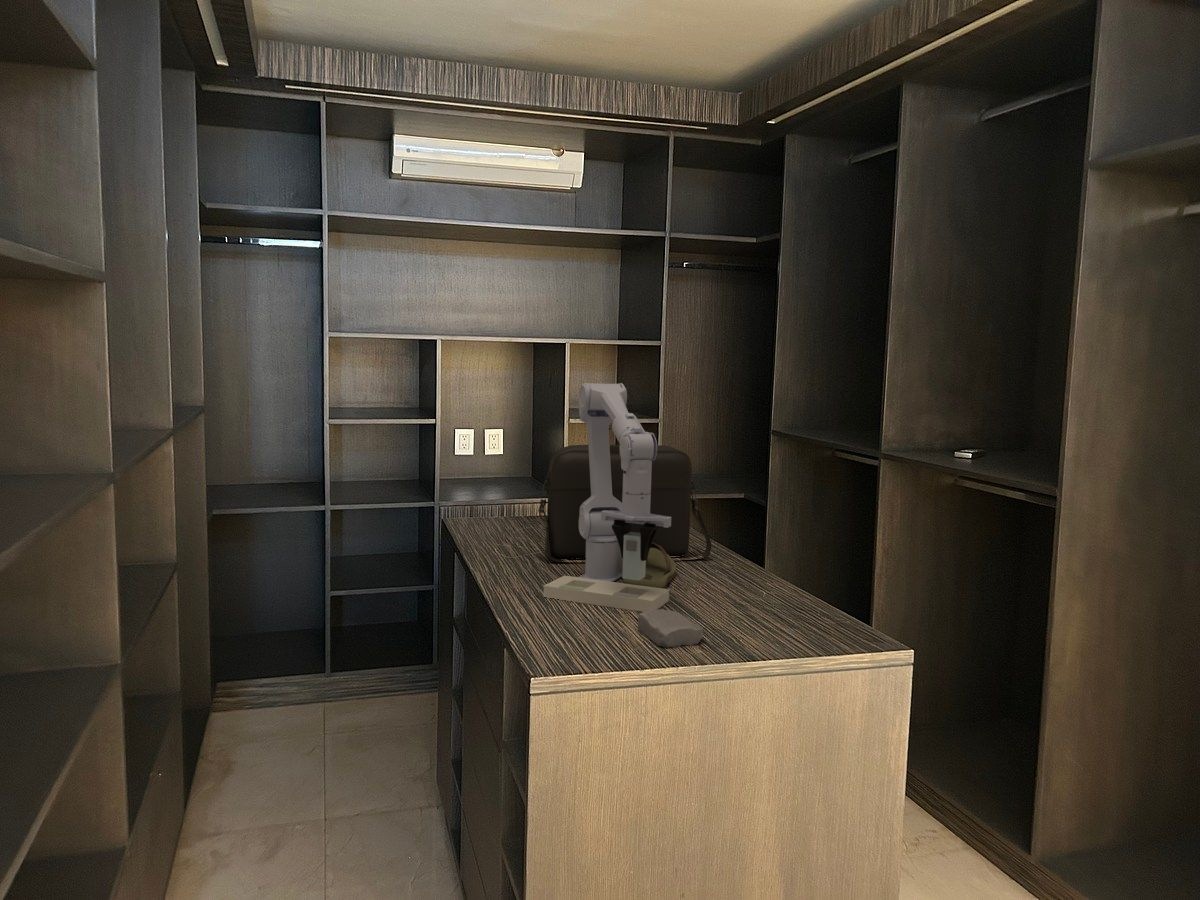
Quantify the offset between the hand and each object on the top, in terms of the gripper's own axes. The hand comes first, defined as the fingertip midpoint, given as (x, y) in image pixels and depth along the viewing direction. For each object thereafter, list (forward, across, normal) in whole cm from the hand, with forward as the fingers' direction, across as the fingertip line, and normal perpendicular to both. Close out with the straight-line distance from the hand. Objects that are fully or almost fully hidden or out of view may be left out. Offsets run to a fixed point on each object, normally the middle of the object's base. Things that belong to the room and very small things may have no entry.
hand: (634, 558), depth 190 cm
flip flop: (+10, -4, +20) cm, 23 cm away
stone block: (+10, +14, -18) cm, 25 cm away
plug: (+4, 0, 0) cm, 4 cm away
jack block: (+9, -6, 0) cm, 11 cm away
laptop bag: (+10, -18, +39) cm, 44 cm away
